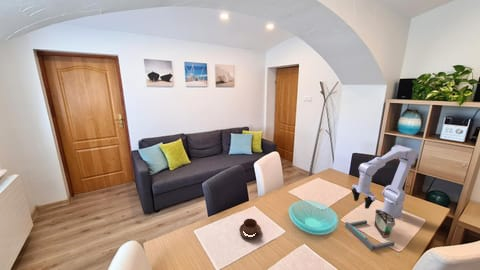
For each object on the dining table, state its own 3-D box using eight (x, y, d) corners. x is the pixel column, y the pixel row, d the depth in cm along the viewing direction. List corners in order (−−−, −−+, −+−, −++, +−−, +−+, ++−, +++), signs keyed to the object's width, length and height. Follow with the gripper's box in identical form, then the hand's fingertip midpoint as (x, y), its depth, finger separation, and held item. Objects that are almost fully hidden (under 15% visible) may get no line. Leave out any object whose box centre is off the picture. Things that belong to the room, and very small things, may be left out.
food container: (397, 241, 97) (401, 225, 95) (384, 240, 98) (387, 223, 96) (384, 225, 109) (388, 210, 106) (372, 223, 110) (375, 208, 108)
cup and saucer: (263, 227, 108) (263, 218, 106) (258, 243, 97) (258, 233, 95) (243, 223, 112) (243, 214, 110) (236, 237, 101) (236, 228, 99)
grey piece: (365, 222, 111) (366, 217, 110) (394, 245, 95) (395, 239, 94) (345, 226, 108) (345, 221, 107) (371, 251, 92) (372, 244, 91)
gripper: (349, 178, 114) (346, 198, 118) (370, 190, 101) (366, 212, 104) (358, 177, 116) (355, 196, 119) (380, 189, 102) (376, 210, 106)
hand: (361, 204), depth 112 cm, fingers open, 7 cm apart
